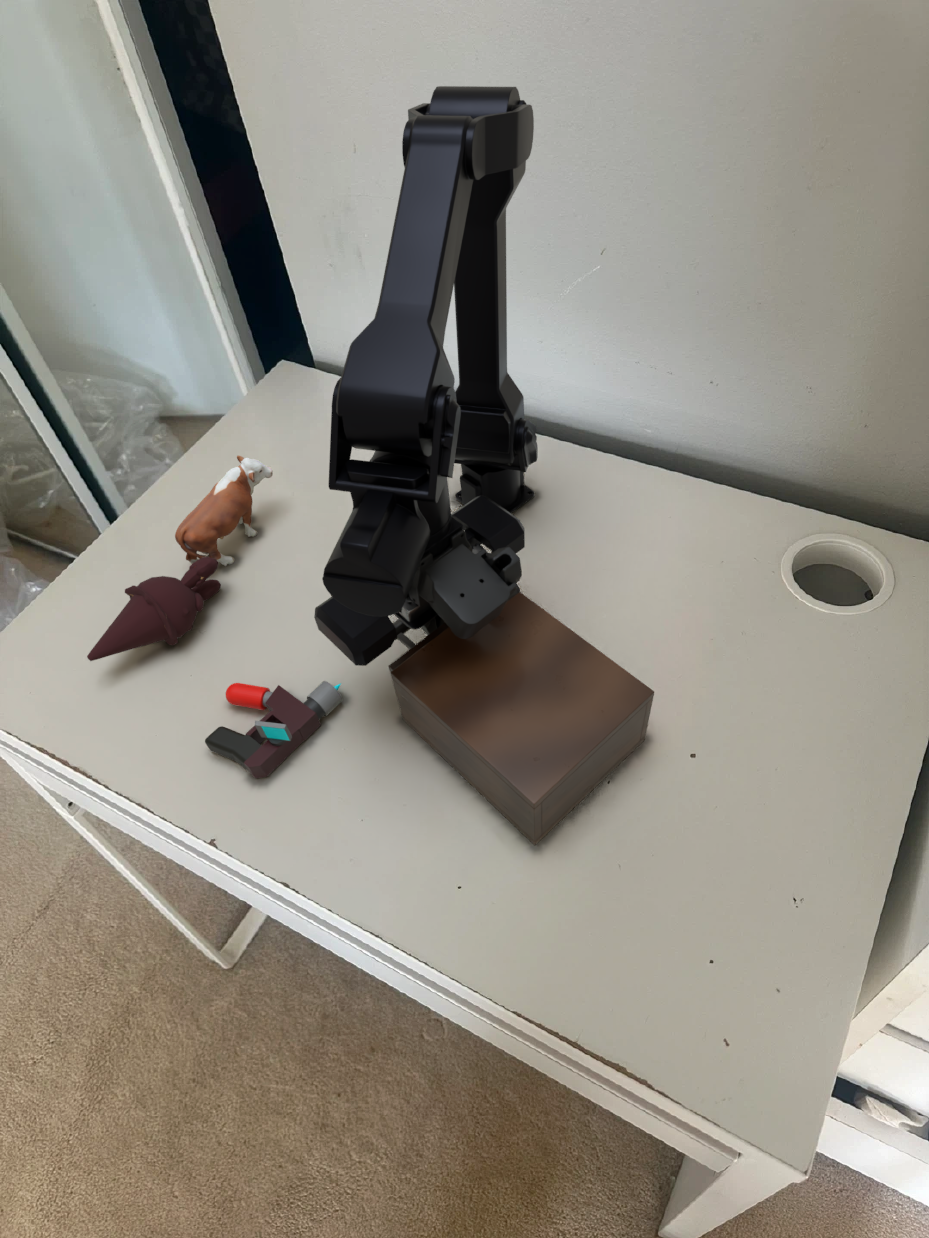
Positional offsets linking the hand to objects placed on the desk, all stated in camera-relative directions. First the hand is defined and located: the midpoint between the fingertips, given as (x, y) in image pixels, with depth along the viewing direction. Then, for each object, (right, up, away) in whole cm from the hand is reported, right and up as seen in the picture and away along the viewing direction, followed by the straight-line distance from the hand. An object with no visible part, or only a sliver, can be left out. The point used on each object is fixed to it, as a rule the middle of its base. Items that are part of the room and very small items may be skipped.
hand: (433, 635), depth 73 cm
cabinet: (+8, -8, -3) cm, 12 cm away
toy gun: (-15, -8, 0) cm, 17 cm away
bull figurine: (-22, +10, +15) cm, 29 cm away
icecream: (-27, 0, +7) cm, 28 cm away
